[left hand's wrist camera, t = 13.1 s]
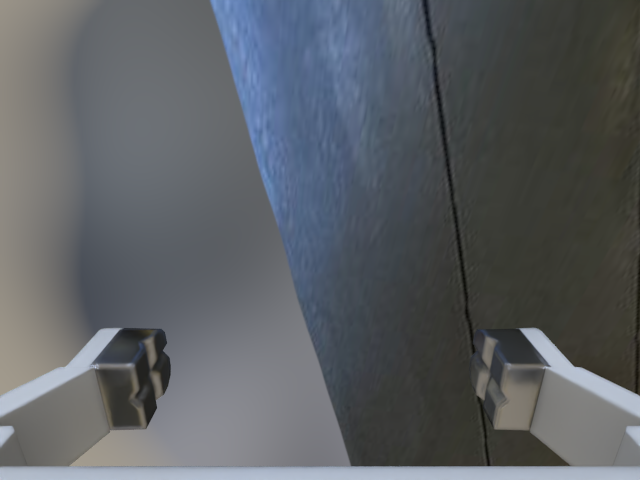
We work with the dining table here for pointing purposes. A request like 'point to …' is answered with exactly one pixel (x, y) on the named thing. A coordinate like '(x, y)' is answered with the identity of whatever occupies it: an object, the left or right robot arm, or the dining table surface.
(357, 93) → the dining table surface
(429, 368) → the dining table surface
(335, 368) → the dining table surface
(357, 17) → the dining table surface
